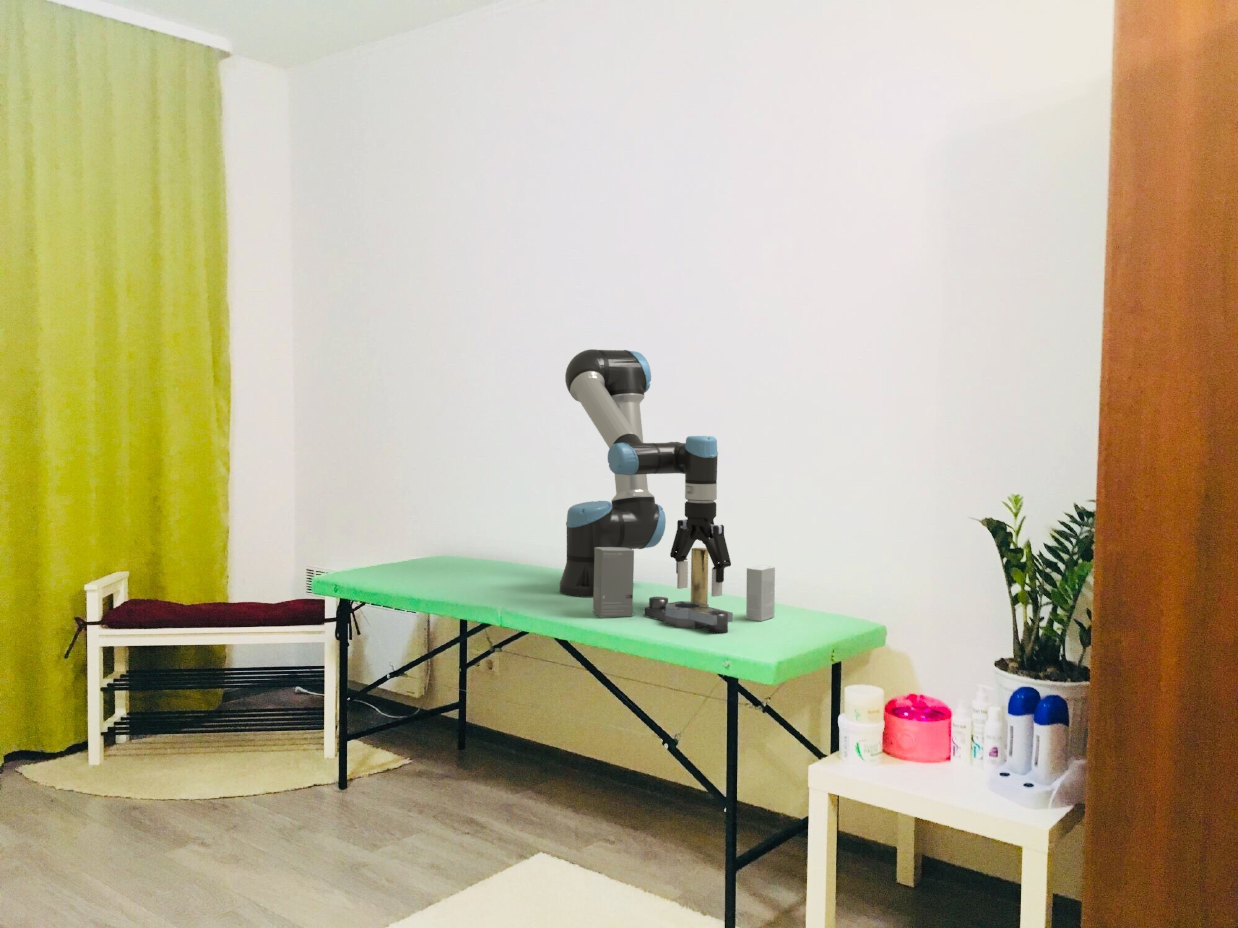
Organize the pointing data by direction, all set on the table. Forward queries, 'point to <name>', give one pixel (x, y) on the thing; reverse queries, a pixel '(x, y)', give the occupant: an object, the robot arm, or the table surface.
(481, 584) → the table surface
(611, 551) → the skincare box
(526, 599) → the table surface
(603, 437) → the robot arm
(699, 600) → the brass pin
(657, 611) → the grey socket base
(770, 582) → the skincare box
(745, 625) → the table surface
